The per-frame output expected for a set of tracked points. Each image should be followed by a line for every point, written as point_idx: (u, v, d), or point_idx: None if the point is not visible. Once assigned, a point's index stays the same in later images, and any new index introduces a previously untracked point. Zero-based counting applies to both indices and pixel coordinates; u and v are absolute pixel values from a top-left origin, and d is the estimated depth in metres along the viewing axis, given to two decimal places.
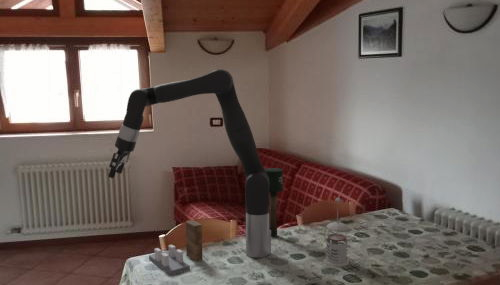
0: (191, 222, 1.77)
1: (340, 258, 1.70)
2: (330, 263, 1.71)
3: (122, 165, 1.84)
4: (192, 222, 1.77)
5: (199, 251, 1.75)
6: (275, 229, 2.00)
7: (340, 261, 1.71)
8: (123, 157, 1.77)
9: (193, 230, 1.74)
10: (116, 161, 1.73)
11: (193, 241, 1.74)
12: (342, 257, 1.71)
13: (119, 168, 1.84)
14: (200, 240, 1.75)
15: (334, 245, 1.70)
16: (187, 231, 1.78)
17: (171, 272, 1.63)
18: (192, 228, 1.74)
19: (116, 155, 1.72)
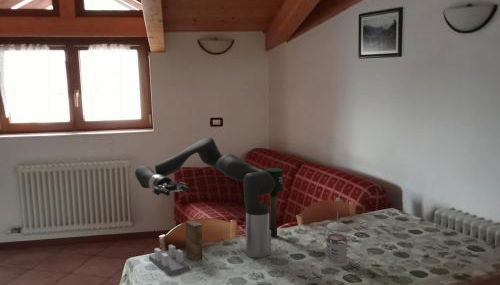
0: (191, 222, 1.77)
1: (340, 258, 1.70)
2: (330, 263, 1.71)
3: None
4: (192, 222, 1.77)
5: (199, 251, 1.75)
6: (275, 229, 2.00)
7: (340, 261, 1.71)
8: None
9: (193, 230, 1.74)
10: None
11: (193, 241, 1.74)
12: (342, 257, 1.71)
13: None
14: (200, 240, 1.75)
15: (334, 245, 1.70)
16: (187, 231, 1.78)
17: (171, 272, 1.63)
18: (192, 228, 1.74)
19: None
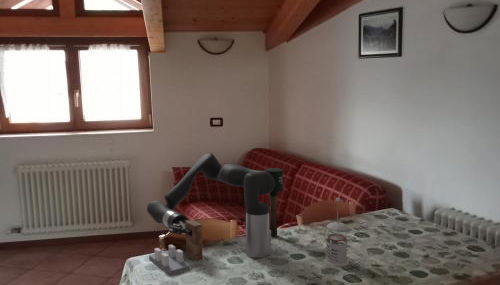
0: (191, 222, 1.77)
1: (340, 258, 1.70)
2: (330, 263, 1.71)
3: None
4: (192, 222, 1.77)
5: (199, 251, 1.75)
6: (275, 229, 2.00)
7: (340, 261, 1.71)
8: None
9: (193, 230, 1.74)
10: None
11: (193, 241, 1.74)
12: (342, 257, 1.71)
13: None
14: (200, 240, 1.75)
15: (334, 245, 1.70)
16: None
17: (171, 272, 1.63)
18: (192, 228, 1.74)
19: None
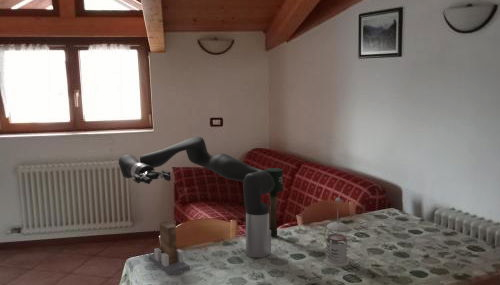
0: (165, 224, 1.70)
1: (340, 258, 1.70)
2: (330, 263, 1.71)
3: None
4: (166, 224, 1.70)
5: (173, 254, 1.69)
6: (275, 229, 2.00)
7: (340, 261, 1.71)
8: None
9: (167, 232, 1.67)
10: None
11: (167, 243, 1.68)
12: (342, 257, 1.71)
13: None
14: (174, 242, 1.68)
15: (334, 245, 1.70)
16: (161, 233, 1.71)
17: (171, 272, 1.63)
18: (165, 230, 1.68)
19: None
